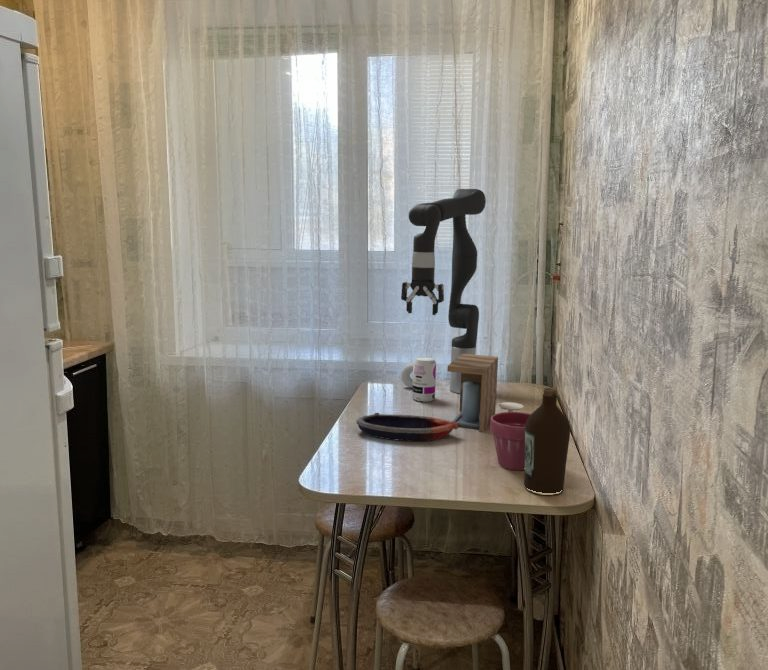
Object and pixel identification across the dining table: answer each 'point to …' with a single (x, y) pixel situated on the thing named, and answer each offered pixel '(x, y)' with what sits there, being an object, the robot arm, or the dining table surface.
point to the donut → (407, 375)
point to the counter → (479, 381)
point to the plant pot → (510, 438)
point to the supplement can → (424, 379)
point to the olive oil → (546, 446)
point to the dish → (405, 427)
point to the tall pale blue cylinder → (471, 401)
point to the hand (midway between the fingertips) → (421, 314)
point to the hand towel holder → (511, 406)
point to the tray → (466, 424)
